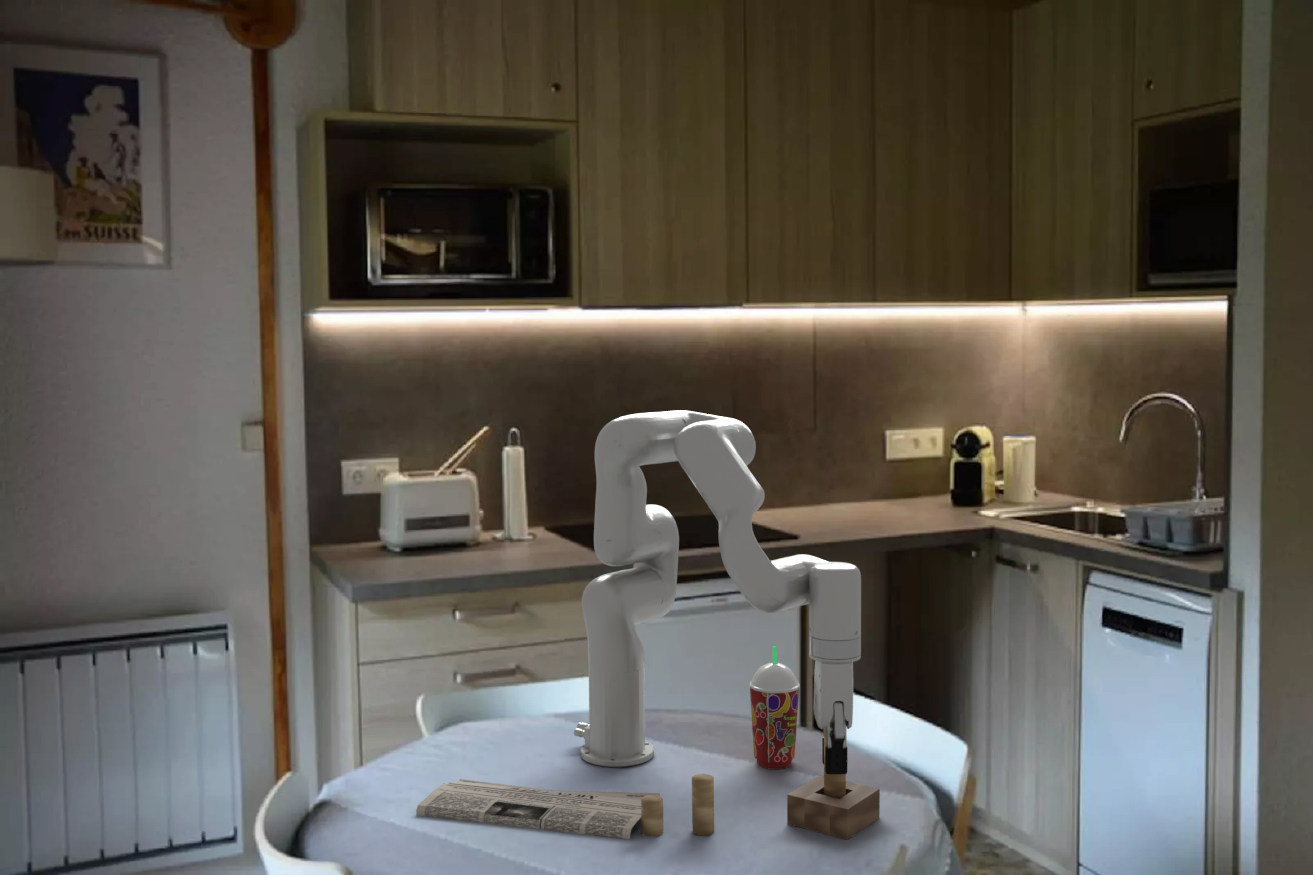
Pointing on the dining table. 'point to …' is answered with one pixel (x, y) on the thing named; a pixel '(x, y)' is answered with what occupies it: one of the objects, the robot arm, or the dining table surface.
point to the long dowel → (833, 777)
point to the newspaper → (536, 807)
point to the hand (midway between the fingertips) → (834, 767)
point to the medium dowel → (703, 804)
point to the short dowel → (652, 815)
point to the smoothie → (774, 714)
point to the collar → (833, 808)
